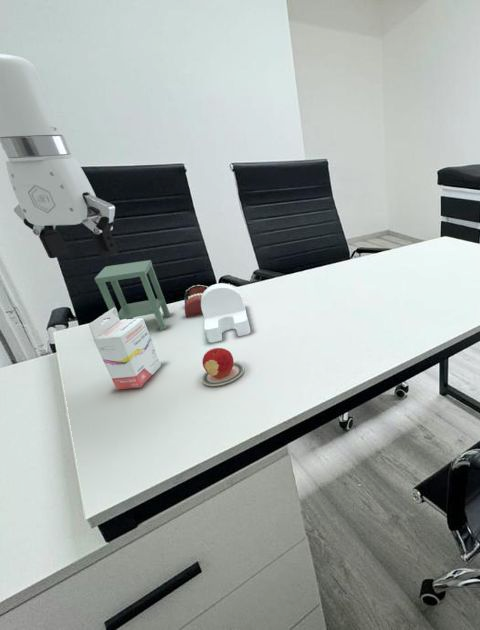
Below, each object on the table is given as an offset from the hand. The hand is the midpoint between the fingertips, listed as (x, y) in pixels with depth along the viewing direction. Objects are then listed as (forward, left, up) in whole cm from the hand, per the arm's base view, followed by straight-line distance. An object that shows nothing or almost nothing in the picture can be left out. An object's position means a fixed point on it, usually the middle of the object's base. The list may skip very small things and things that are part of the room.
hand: (84, 255), depth 68 cm
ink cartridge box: (0, +2, -27) cm, 27 cm away
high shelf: (-3, +30, -27) cm, 40 cm away
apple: (+16, -6, -27) cm, 32 cm away
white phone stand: (+17, +20, -27) cm, 37 cm away
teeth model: (+10, +35, -27) cm, 45 cm away
